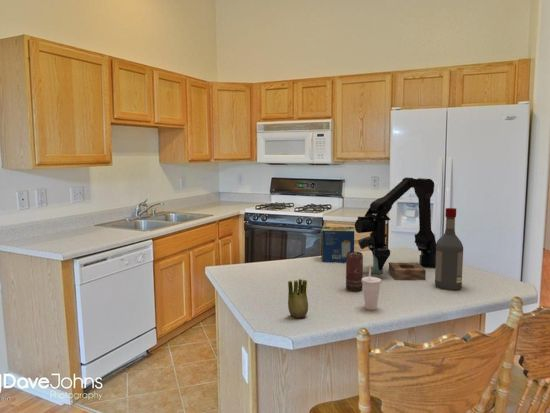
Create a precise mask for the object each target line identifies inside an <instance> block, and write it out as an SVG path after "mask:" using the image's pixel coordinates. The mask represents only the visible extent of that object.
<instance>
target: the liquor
mask: <svg viewBox="0 0 550 413" xmlns="http://www.w3.org/2000/svg"><path fill="white" fill-rule="evenodd" d="M445 218H446V219H445V231H444V233H443V234H442V235H441V236H440V238H439V239H437V240H436V267H434V269H435V271H434V285H435V287H436V288H437V289H440V290H447V291H459V290H461V288H462V285H463V264H464V245H463V243H462V241H461V239H460V238H459V237H458V236H457V235H456V230H455V228H456V227H455V226H456V218H457V208H456V207H454V208H453V207H446V208H445Z"/></svg>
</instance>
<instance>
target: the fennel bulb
mask: <svg viewBox="0 0 550 413" xmlns="http://www.w3.org/2000/svg"><path fill="white" fill-rule="evenodd" d="M307 283H308V280H306V279H302V278H298V280H297V279H296V280H294V281H292V280H288V281H287V287H288V296H287V297H288V298H287V307H288V313H289V314H290V316H291V317H294V318H297V319H302V318H305V317H306V316H307V315H308V311H309V301H308V295H307V285H308V284H307Z"/></svg>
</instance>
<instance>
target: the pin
mask: <svg viewBox="0 0 550 413" xmlns="http://www.w3.org/2000/svg"><path fill="white" fill-rule="evenodd" d="M372 257H373V258H372V259H373V260H372V266H373V267H372V273H373V274H374V275H382V274H383V273H384V271H383V270H384V267H383V268H382V270H379V268H378V262H377V258H376V257H375V256H374V254H372Z"/></svg>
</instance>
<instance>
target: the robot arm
mask: <svg viewBox="0 0 550 413" xmlns="http://www.w3.org/2000/svg"><path fill="white" fill-rule="evenodd" d="M411 188H412V189H413V190H414V194H415V195H416V197H417V199H418V221H419V222H418V224H419V227H418V228H419V230H418V232H417V233H415V234H414V243H415V245H416V247H417V249H418V251H419V252H420V254H419V261H418V264H419V265H420V266H421V267H423V268H435V267H436V243H437V240H436V235H435V234H434V233H433V230H432V216H431V214H432V211H431V198H432V196H433V195H434V190H435V182H434V181H433V179H431V178H421V177H418V178H413V177H404V178H402V179H401V181H400V182H399V183H397V185H395V186H394V187H393V188H392V189H391V190H390V191H388V192H387V193H386V194H385V195H384V196H383V197H382V196H381V197H379V198H376V199H375V200H374V201H372V202H371V203H370V205H369V208H368V209H367V211H366V213H365V214H364V216H357V219H356V220H355V223H354V231H355V232H356V233H357V234H363V233H364V234H365V233H370V234H369V236H365V237H363V238H360V239H358V240H357V243H358V246H359V248H360V250H364V249H365V248H368V249H369V251H371V253H372V255H373V254H374V256H375V257H376V258H377V262H378V268H379V270H382V268H383V269H384V266H385V264H386V262H387V260H388V259H389V257H390V256H391V250H390V248H388V247H387V243H386V238H387V237H388V235H387V234H386V233H387V232H386V231H387V230H386V228H387V224H386V223H387V221H390V220H391V218H390V217H389V216H388V214H389V212H390V211H391V210H392V208H393V205H394V204H395V203H396V202H397V201H398V200H399V199H401V198H402V197H403V195H405V194H406V193H407V192H408V191H409V190H410V189H411Z"/></svg>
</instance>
